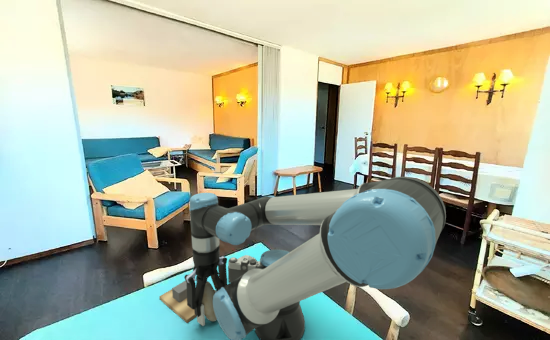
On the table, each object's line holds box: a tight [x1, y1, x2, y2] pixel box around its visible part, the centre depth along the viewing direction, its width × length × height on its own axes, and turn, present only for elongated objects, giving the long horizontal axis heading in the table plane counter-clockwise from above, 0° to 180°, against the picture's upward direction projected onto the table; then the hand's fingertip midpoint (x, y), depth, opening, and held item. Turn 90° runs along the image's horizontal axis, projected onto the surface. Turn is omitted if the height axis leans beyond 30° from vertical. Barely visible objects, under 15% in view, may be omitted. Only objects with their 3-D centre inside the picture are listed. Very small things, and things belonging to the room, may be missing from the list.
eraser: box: [171, 280, 187, 303], centre depth 81 cm, size 4×5×4 cm
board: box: [159, 288, 197, 324], centre depth 81 cm, size 16×10×1 cm, turn 53°
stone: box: [202, 280, 218, 322], centre depth 73 cm, size 6×6×12 cm
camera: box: [227, 254, 260, 283], centre depth 93 cm, size 16×10×10 cm, turn 80°
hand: (209, 316), depth 73 cm, fingers closed on stone, 5 cm apart
